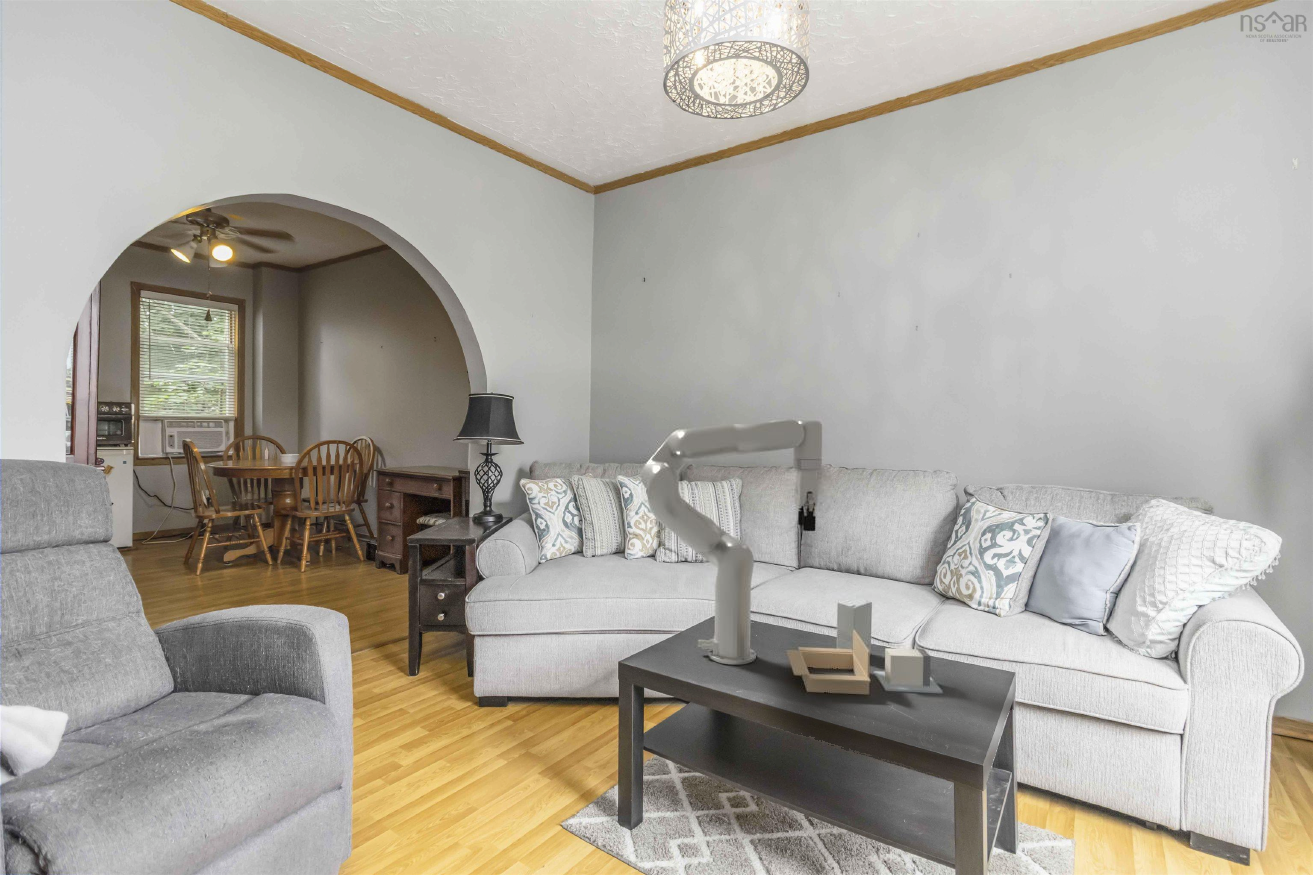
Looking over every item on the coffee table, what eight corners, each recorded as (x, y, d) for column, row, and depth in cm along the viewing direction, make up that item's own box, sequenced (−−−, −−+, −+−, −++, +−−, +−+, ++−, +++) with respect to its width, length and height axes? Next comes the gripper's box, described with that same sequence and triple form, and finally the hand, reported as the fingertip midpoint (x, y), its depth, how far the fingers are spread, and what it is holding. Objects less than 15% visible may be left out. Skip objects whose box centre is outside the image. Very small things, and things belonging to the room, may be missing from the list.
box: (890, 684, 158) (890, 654, 158) (884, 676, 163) (885, 647, 163) (929, 686, 157) (930, 656, 157) (923, 677, 162) (923, 648, 162)
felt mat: (885, 690, 155) (885, 688, 155) (874, 673, 166) (874, 671, 166) (942, 693, 154) (942, 691, 154) (927, 675, 165) (927, 673, 165)
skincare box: (853, 649, 184) (854, 596, 184) (872, 655, 179) (873, 600, 179) (835, 655, 179) (836, 601, 178) (854, 662, 174) (855, 606, 174)
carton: (795, 695, 152) (795, 652, 152) (785, 662, 173) (786, 624, 173) (871, 698, 151) (872, 655, 151) (852, 665, 172) (852, 627, 171)
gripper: (789, 463, 189) (789, 522, 189) (797, 467, 172) (796, 532, 172) (816, 463, 188) (815, 523, 189) (826, 467, 171) (825, 533, 171)
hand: (806, 527), depth 180 cm, fingers open, 9 cm apart
